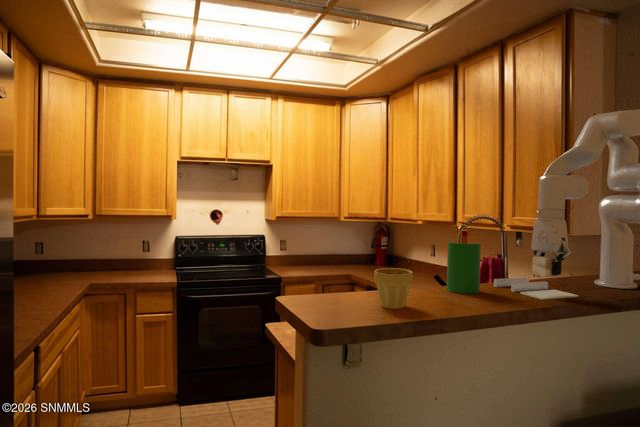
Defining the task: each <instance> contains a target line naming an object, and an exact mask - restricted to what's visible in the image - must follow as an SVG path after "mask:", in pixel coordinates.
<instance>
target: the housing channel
mask: <svg viewBox="0 0 640 427" xmlns="http://www.w3.org/2000/svg"><path fill="white" fill-rule="evenodd" d="M493 287H494V288H504V287H506V288H507V287H511V288H510V291H511V292H512V293H520V292H529V291H543V290H549V289H548V288H549V282H548V281H531V282H530V277H526V276H525V277H524V276H523V277H509V278H494V279H493Z"/></svg>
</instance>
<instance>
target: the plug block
mask: <svg viewBox="0 0 640 427" xmlns="http://www.w3.org/2000/svg"><path fill="white" fill-rule="evenodd" d="M552 262H554V260H553V256H552V257H551V256H547V255H546V256H538V257H536V256H532V267H531V268H532V269H531V270H532V275H535V276H540V277H544V278H546V277H558V276H559V275H552Z"/></svg>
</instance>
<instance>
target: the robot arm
mask: <svg viewBox="0 0 640 427" xmlns="http://www.w3.org/2000/svg"><path fill="white" fill-rule="evenodd" d="M637 136H638V137H640V109H638V108H637V109H629V110H618V111H613V112H611V111H609V112H604V113H599V114H595V115H592V116H590V117H589V118H588V119H587V121H586V122H585V124H584V125H583V128H582V129H581V131H580V133H579V135H578V137H577V139H576V140H575V143H574V144H573V146H572V148H570V149H567V151H566V152H564V153H562V154H561V155H560V156H559V157H557V158H555V159H554V160H553V161H552V162H551V163H550V164H549V165H548V167H547V168H546V169H545V172H544V174H543V175H541V176H540V177H539V179H538V189H537V190H538V191H537V192H538V195H537V197H538V198H537V211H536V215H537V218H535V220H534V223H533V229H532V234H531V235H532V238H531V244H530V249H531V251H532V252H533V254H534V255H535V257H538V256H547V253H552V257H553V260H554V262H552V275H558V276H561V274H562V263H564V260H565V259H566V258H567V257H568V256H570V254H571V253H572V251H571V250H570V247H569V246H568V240H569V239H568V226H567V221H566V219H565V218H566V217H565V216H566V214H565V212H566V211H565V209H566V200H579V199H582V198H585V196H586V195H587V194H588V193H589V190H590V184H589V182H588V180H587V179H586V178H585V177H584V176H582V175H577V174H575V175H574V174H573V175H572V174H571V175H568V174H569V173H572V172H574V171H575V170H579V169H581V168H583V167H586V166H588V165H591V164H593V163H595V162H597V161H598V160H599V159H600V157H601V155H602V153H603V151H604V149H605V147H606V146H607V147H608V150H609V160H608V169H607V180H606V182H607V187H608V189H609V190H611V191H614V192H640V162H639V154H640V153H639V152H640V150H639V148H638V145H637V143H635V142H634V140H633V139H632V138H630V137H637ZM598 214H599V219H600V227H601V230H600V231H601V232H600V235H601V237H600V266H599V278H598V279H597V278H596V279H595V280H594V284H595V285H596V286H600V287H606V288H613V289H624V290H625V289H627V290H628V289H629V290H630V289H637V288H638V283H636V282H634V281H635V280H636V281H637V280H638V281H639V280H640V274H639V273H634V272H633V266H634V265H633V262H634V239H635V238H634V234H633V231H632V229H631V228H630V227H629V225H628V224H638V225H639V224H640V194H636V195H635V194H616V195H614V194H613V195H608V196H605V197H604V198H602V199H601V200H600V202H599V204H598Z"/></svg>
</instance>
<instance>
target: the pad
mask: <svg viewBox="0 0 640 427" xmlns="http://www.w3.org/2000/svg"><path fill="white" fill-rule="evenodd" d="M519 293H520V295H524V296H527V297H530V298H535V299H538V300H543V301H545V300H555V299H557V300H558V299H567V298H579V295H578V294H574V293H570V292H567V291H562V290H558V289H548V290H534V291H520V292H519Z"/></svg>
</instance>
